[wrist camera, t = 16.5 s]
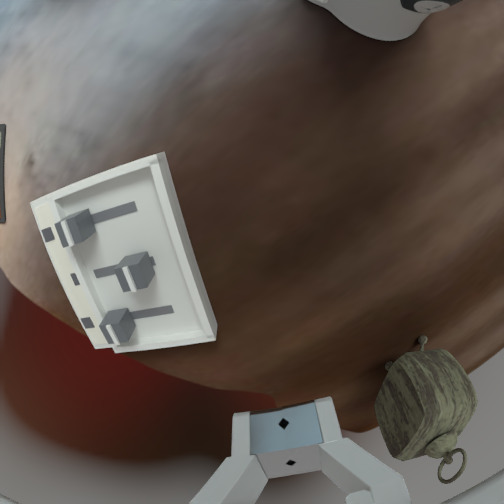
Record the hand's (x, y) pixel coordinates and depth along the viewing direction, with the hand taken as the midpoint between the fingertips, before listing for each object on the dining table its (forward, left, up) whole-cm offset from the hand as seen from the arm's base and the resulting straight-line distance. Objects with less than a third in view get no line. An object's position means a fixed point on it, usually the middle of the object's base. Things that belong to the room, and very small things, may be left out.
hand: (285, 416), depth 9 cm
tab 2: (+4, -15, -27) cm, 31 cm away
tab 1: (-3, -21, -27) cm, 34 cm away
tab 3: (+11, -21, -27) cm, 36 cm away
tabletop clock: (+32, +18, -29) cm, 47 cm away
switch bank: (+4, -19, -29) cm, 35 cm away
